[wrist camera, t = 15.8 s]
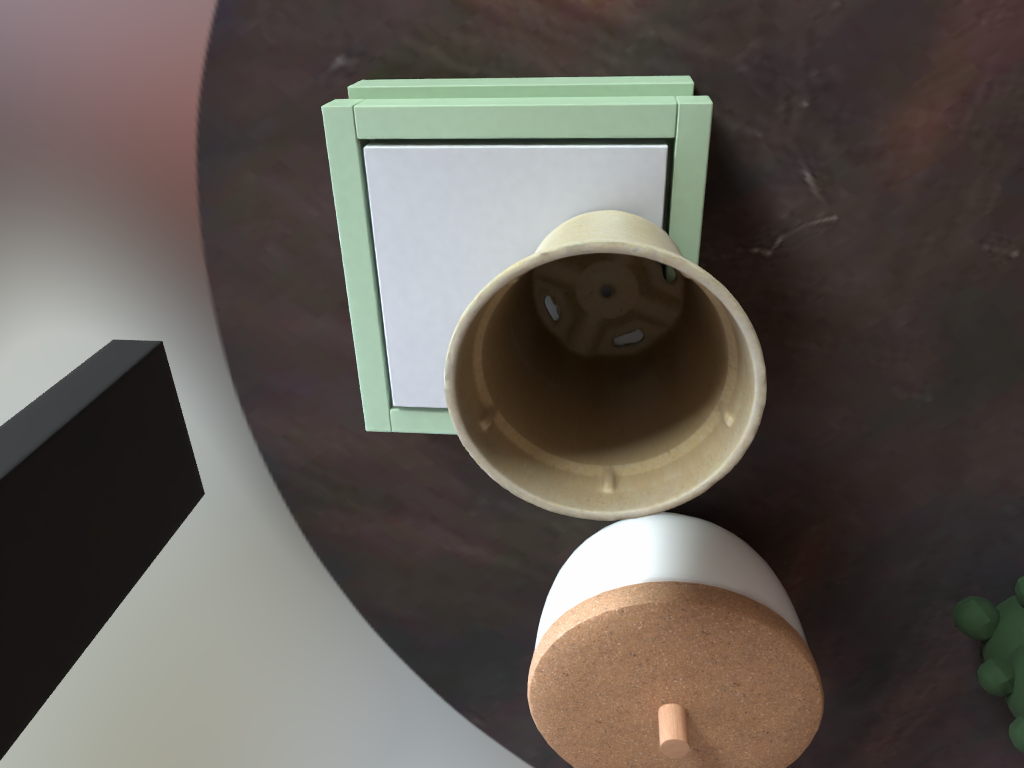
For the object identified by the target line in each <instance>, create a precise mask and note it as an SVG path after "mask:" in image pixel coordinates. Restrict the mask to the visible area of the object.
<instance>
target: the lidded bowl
mask: <svg viewBox="0 0 1024 768" xmlns="http://www.w3.org/2000/svg"><path fill="white" fill-rule="evenodd" d="M528 702H529V707H530V712H531V715H532V717H533V719H534V722H535V724H536V726H537V728H538V730H539V731H540V733H541V734H542V735H543V737H544V738H545V740H546V741H547V743H548V744H549V745H550V746H551V747H552V748H553V749H554V750H555V751H556V752H557V753H558V754H559V755H560V756H561V757H562V758H563V759H564V760H566V761H567V762H568V763H569V764H571V765H572V766H573V767H575V768H786V767H788V766H789V765H790V764H791V763H793V762H794V761H795V760H796V759H798V758H799V756H800V755H801V754H802V753H803V752H804V750H805V749H806V748H807V747H808V746H809V744H810V743H811V741H812V739H813V737H814V736H815V734H816V732H817V730H818V728H819V725H820V722H821V719H822V715H823V709H824V693H823V688H822V683H821V678H820V674H819V671H818V668H817V665H816V663H815V660H814V658H813V656H812V654H811V651H810V649H809V647H808V645H807V641H806V638H805V635H804V632H803V629H802V626H801V623H800V620H799V618H798V616H797V614H796V611H795V609H794V607H793V605H792V603H791V601H790V598H789V596H788V594H787V592H786V590H785V588H784V587H783V585H782V584H781V582H780V581H779V579H778V578H777V576H776V575H775V573H774V572H773V570H772V569H771V568H770V566H769V565H768V563H767V562H766V561H765V560H764V559H763V558H762V557H761V556H760V555H759V554H758V553H757V552H756V551H755V550H754V549H752V548H751V547H750V546H749V545H748V544H747V543H746V542H745V541H743V540H742V539H740V538H739V537H738V536H736V535H735V534H733V533H731V532H729V531H728V530H726V529H724V528H722V527H720V526H718V525H716V524H714V523H712V522H709V521H706V520H703V519H700V518H696V517H691V516H687V515H682V514H677V513H669V512H661V513H658V514H654V515H650V516H645V517H640V518H636V519H626V520H621V521H618V522H616V523H613V524H611V525H609V526H607V527H605V528H603V529H602V530H600V531H599V532H597V533H596V534H594V535H593V536H591V537H590V538H588V539H587V540H586V541H585V542H584V543H582V544H581V545H580V546H579V547H578V548H577V549H576V550H575V551H574V552H573V554H572V555H571V556H570V558H569V559H568V560H567V562H566V563H565V564H564V566H563V567H562V568H561V569H560V571H559V573H558V575H557V577H556V579H555V581H554V583H553V585H552V588H551V590H550V592H549V594H548V596H547V599H546V603H545V606H544V609H543V613H542V616H541V620H540V624H539V629H538V634H537V640H536V646H535V651H534V655H533V659H532V662H531V666H530V671H529V678H528Z"/></svg>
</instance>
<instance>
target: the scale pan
mask: <svg viewBox="0 0 1024 768" xmlns="http://www.w3.org/2000/svg"><path fill="white" fill-rule="evenodd" d="M364 157H365V166H366V174H367V183H368V192H369V200H370V209H371V217H372V226H373V235H374V243H375V252H376V260H377V269H378V278H379V286H380V295H381V303H382V312H383V321H384V329H385V338H386V346H387V355H388V364H389V372H390V381H391V389H392V398H393V405H394V406H402V407H429V408H447V403H446V396H445V387H444V367H445V361H446V356H447V351H448V348H449V344H450V341H451V338H452V335H453V333H454V330H455V328H456V326H457V324H458V322H459V320H460V318H461V316H462V314H463V313H464V311H465V310H466V308H467V307H468V305H469V304H470V303H471V302H472V300H473V299H474V298H475V297H476V296H477V294H478V293H479V292H480V291H481V290H482V289H483V288H484V287H485V286H486V285H487V284H488V283H489V282H491V281H492V280H493V279H494V278H495V277H496V276H498V275H499V274H500V273H501V272H503V271H504V270H506V269H507V268H508V267H510V266H512V265H513V264H515V263H516V262H518V261H520V260H522V259H524V258H526V257H528V256H530V255H532V254H534V253H535V251H536V250H537V248H538V247H539V245H540V244H541V243H542V241H543V240H544V239H545V238H546V237H547V236H548V235H549V234H550V233H551V232H552V231H553V230H554V229H556V228H557V227H558V226H560V225H561V224H563V223H564V222H566V221H568V220H570V219H572V218H574V217H576V216H578V215H581V214H585V213H588V212H594V211H603V210H618V211H622V212H627V213H630V214H634V215H637V216H639V217H642V218H644V219H647V220H648V221H650V222H652V223H654V224H655V225H657V226H659V227H660V228H661V229H663V216H664V202H665V187H666V173H667V158H668V145H667V142H666V138H533V139H374V140H373V141H372V142H370V143H369V144H368V145H366V146H365V147H364ZM659 263H660V262H659ZM601 293H602V295H604V296H610V295H611V293H612V288H610V287H609V286H604V287H603V288H602V291H601ZM545 304H546V307H547V309H548V311H549V313H550V315H551V316H552V318H553V320H554V321H556V320H557V319H558V318H559V316H558V314H557V311H556V307H557V308H558V306H557V305H554V304H553V302H552V300H551V298H550V296H547V297H546V298H545ZM642 338H643V333H642V332H641V330H639V329H637V330H636V331H633V332H631V333H628V334H625V335H622V336H619V337H617V338H615V339H614V344H615V345H619V346H621V345H624V344H629V343H635V342H638V341H640V340H641V339H642Z"/></svg>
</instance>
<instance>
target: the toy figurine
mask: <svg viewBox="0 0 1024 768" xmlns="http://www.w3.org/2000/svg"><path fill="white" fill-rule="evenodd" d="M1014 592H1015V594H1016V595H1014V596H1011V597H1009V598H1007V599H1006V600H1004V601H1003V602H1001V603H1000V604H998V605H997V607H996V606H994V605H993V604H992V603H991V602H989V601H988V600H986V599H984V598H983V597H980V596H970V597H967V598H965V599H963V600H961V601H959V602H957V604H956V606H955V607H954V609H953V617H954V622H955V626H956V627H957V628H958V629H959V630H960V631H961V632H962V633H964V634H965V635H966V636H967V637H968V638H969V639H971V640H976V641H983V642H982V643H981V644H980V655H981V662H982V665H980V667H979V669H978V672H977V678H978V681H979V684H980V686H981V687H982V688H983V689H984V690H985V691H986V692H987V693H989V694H991V695H995V696H999V697H1004V699H1005V701H1006V703H1007V705H1008V707H1009V709H1010V711H1011V712H1012V714H1013V715H1014V717H1015V720H1014V721H1013V722H1012V723H1011V724H1010V726H1009V736H1010V739H1011V741H1012V743H1013V745H1014V746H1015V748H1016V749H1017V750H1019V751H1020V752H1022V753H1023V754H1024V576H1023V577H1021V578H1019V579H1018V580H1017V583H1016V585H1015V588H1014Z"/></svg>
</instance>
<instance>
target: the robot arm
mask: <svg viewBox="0 0 1024 768" xmlns="http://www.w3.org/2000/svg"><path fill="white" fill-rule="evenodd" d="M204 494H205V493H204V489H203V485H202V482H201V478H200V475H199V471H198V467H197V464H196V460H195V457H194V453H193V450H192V446H191V442H190V439H189V435H188V431H187V428H186V424H185V421H184V417H183V414H182V410H181V406H180V403H179V399H178V396H177V392H176V388H175V385H174V381H173V378H172V374H171V370H170V367H169V363H168V360H167V356H166V352H165V349H164V346H163V342H162V341H138V340H137V341H136V340H112V341H111V342H110V343H108V344H107V345H106V346H104V347H103V348H102V349H100V350H99V351H98V352H97V353H95V354H94V355H93V356H92V357H90V358H89V359H87V360H86V361H85V362H84V363H82V364H81V365H80V366H79V367H77V368H76V369H74V370H73V371H72V372H71V373H69V374H68V375H67V376H66V377H64V378H63V379H62V380H60V381H59V382H58V383H56V384H55V385H54V386H53V387H51V388H50V389H49V390H47V391H46V392H45V393H43V394H42V395H41V396H39V397H38V398H37V399H36V400H34V401H33V402H32V403H30V404H29V405H28V406H26V407H25V408H24V409H23V410H21V411H20V412H19V413H17V414H16V415H15V416H14V417H12V418H11V419H10V420H8V421H7V422H6V423H4V424H3V425H2V426H0V760H1V759H2V758H3V756H4V755H5V754H6V753H7V751H8V750H9V749H10V747H11V746H12V745H13V743H14V742H15V741H16V740H17V738H18V737H19V735H20V734H21V733H22V732H23V730H24V729H25V728H26V726H27V725H28V724H29V722H30V721H31V720H32V719H33V717H34V716H35V715H36V713H37V712H38V711H39V709H40V708H41V707H42V706H43V704H44V703H45V702H46V700H47V699H48V698H49V696H50V695H51V694H52V693H53V691H54V690H55V689H56V687H57V686H58V685H59V683H60V682H61V681H62V679H63V678H64V677H65V676H66V674H67V673H68V672H69V670H70V669H71V668H72V666H73V665H74V664H75V663H76V661H77V660H78V658H79V657H80V656H81V655H82V653H83V652H84V651H85V649H86V648H87V647H88V646H89V644H90V643H91V641H92V640H93V639H94V638H95V636H96V635H97V634H98V632H99V631H100V630H101V629H102V627H103V626H104V624H105V623H106V622H107V621H108V619H109V618H110V617H111V616H112V614H113V613H114V612H115V610H116V609H117V608H118V606H119V605H120V604H121V603H122V601H123V600H124V599H125V597H126V596H127V595H128V593H129V592H130V591H131V589H132V588H133V587H134V586H135V584H136V583H137V582H138V580H139V579H140V578H141V576H142V575H143V574H144V572H145V571H146V570H147V568H148V567H149V566H150V565H151V563H152V562H153V561H154V559H155V558H156V557H157V555H158V554H159V553H160V552H161V550H162V549H163V547H164V546H165V545H166V544H167V543H168V541H169V540H170V538H171V537H172V536H173V535H174V533H175V532H176V531H177V529H178V528H179V527H180V526H181V524H182V523H183V522H184V520H185V519H186V518H187V516H188V515H189V514H190V513H191V511H192V510H193V508H194V507H195V506H196V505H197V503H198V502H199V501H200V499H201V498H202V497H203V496H204Z"/></svg>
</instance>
